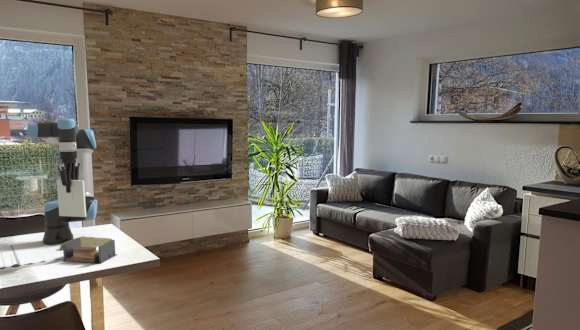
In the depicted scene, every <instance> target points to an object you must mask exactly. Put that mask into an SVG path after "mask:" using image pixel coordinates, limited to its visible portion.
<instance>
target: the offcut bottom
mask: <svg viewBox="0 0 580 330" xmlns="http://www.w3.org/2000/svg"><path fill="white" fill-rule="evenodd" d="M71 260H72V261H78V262H92V263H94V262H96V261H98V260H99V256H98V257H96V258H82V257H73V256H72V257H71Z"/></svg>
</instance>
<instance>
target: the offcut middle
mask: <svg viewBox="0 0 580 330" xmlns="http://www.w3.org/2000/svg"><path fill="white" fill-rule="evenodd" d="M98 256H99V251H95V252H93V253H91V254H85V253H73V257H82V258H96V257H98Z"/></svg>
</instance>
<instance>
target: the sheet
mask: <svg viewBox="0 0 580 330" xmlns="http://www.w3.org/2000/svg"><path fill="white" fill-rule="evenodd" d="M71 186H72V189H73V199H67V192H66V186H64V185H62V181H61V179H57V180H56V188H57V189H56V190H57V191H56V192H57V200H58V205H59V216H71V217H86V202H85V186H84V180H71Z"/></svg>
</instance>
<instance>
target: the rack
mask: <svg viewBox="0 0 580 330" xmlns="http://www.w3.org/2000/svg"><path fill="white" fill-rule="evenodd" d="M76 238H77V239H75V238H74V239H75V240H72V241H70V242H67V243H65V244H63V250H62V252H63V253H62V254H63V260H62V262H65V263H76V264H77V263H78V264H79V263H80V264H94V265H101V264H103V263H105V262H107V261H108V260H111V259H112V258H114V257H116V256H118V255H119V254H117V253H116V240H115V239H112V240H111V241H109V242H107V243H105V244H102V245H100V246H98V249H96V251H99V260H98V261H96V262H94V263H92V262H78V261H72V260H71V257H72V256H73V249H74V248H76V247H78V246H81V239H80V238H79V237H76Z"/></svg>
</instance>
